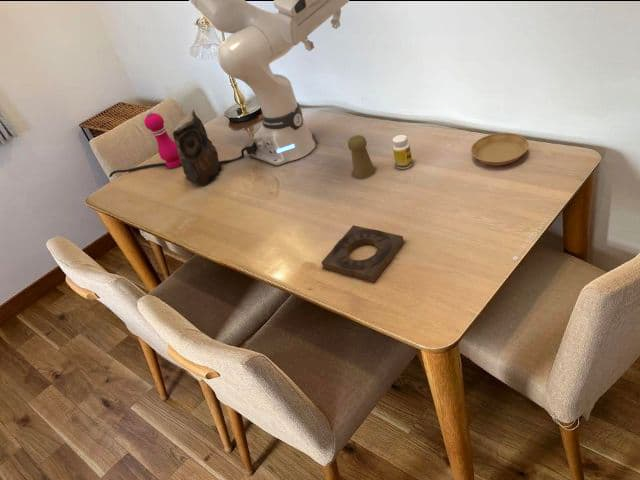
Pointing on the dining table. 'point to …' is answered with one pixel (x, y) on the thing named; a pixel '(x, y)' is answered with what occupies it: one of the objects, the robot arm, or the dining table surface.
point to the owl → (196, 150)
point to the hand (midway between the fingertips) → (323, 37)
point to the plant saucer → (499, 148)
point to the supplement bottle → (402, 152)
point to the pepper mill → (162, 139)
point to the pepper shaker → (360, 157)
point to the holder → (367, 267)
